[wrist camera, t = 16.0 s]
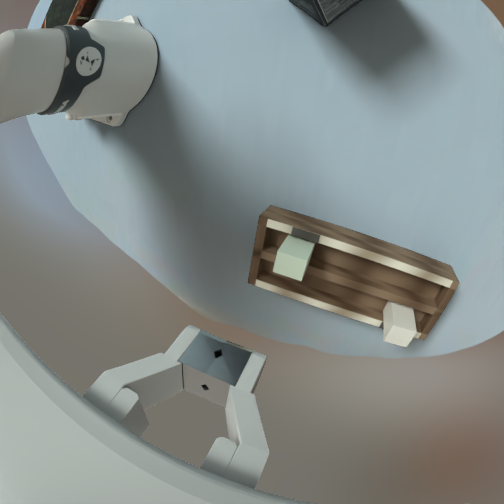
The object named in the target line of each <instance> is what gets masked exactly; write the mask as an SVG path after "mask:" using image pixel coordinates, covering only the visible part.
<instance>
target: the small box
mask: <svg viewBox="0 0 504 504" xmlns="http://www.w3.org/2000/svg"><path fill="white" fill-rule="evenodd" d="M289 1H290V2H292V3H293V4H295V5H296V6H297V7H299V8H300V9H302V10H303V11H304V12H306V13H307V14H309V15H310V16H311V17H313V18H314V19H315V20H316V21H318V22H319V23H320V24H321V25H323V26H328V25H329V24H330V23H331V22H333V21H334V20H335V19H337V18H338V17H339V16H341V15H342V14H343V13H345V12H346V11H348V10H349V9H350V8H352V7H353V6H355V5H356V4H357V3H359V2H360V1H362V0H289Z"/></svg>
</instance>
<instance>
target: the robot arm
mask: <svg viewBox="0 0 504 504" xmlns="http://www.w3.org/2000/svg"><path fill="white" fill-rule="evenodd" d="M157 58H158V54H157V46H156V43H155V40H154V38H153V36H152V35H151V34H150V33H149V32H148V31H147V30H146V29H144V28H143V27H141V26H140V23H139V21H138V19H137V17H136V16H132V15H129V16H126V17H124V18H123V19H121V20H119V21H114V20H104V19H92V20H90V21H89V22H87V23H85V24H84V25H83V26H82V27H81V26H74V25H64V26H56V27H54V28H39V29H17V30H9V31H6V32H4V33H2V34H0V124H1V123H4V122H6V121H9V120H12V119H15V118H19V117H22V116H26V115H30V114H35V113H37V114H40V115H46V114H47V115H51V114H56V113H58V112H66V119H67V120H81V119H86V118H90V119H93V120H96V121H99V122H102V123H105V124H108V125H110V126H120V125H121V124H122V123H123V121H124V120H125V118H126V116H127V114H128V112H129V111H130V110H131V109H132V108H133V107H134V106H135V105H137V104H138V103H139V102H140V101H141V99H142V98H143V97H144V96H145V94H146V93H147V91H148V89H149V87H150V85H151V83H152V81H153V78H154V75H155V72H156V67H157ZM266 359H267V356H266V355H263V354H260V353H258V352H255V351H253V350H251V349H248V348H245V347H243V346H240V345H237V344H234V343H232V342H229V341H225V340H223V339H221V338H219V337H216V336H214V335H212V334H210V333H208V332H205V331H203V330H201V329H199V328H196V327H194V326H192V325H188V326H187V327H186V328H185V329H184V330H183V332H182V333H181V334H180V335H179V336H178V338H177V339H176V340H175V342H174V343H173V344H172V345H171V347H170V348H169V349H168V350H167V352H166V353H165V354H163V353H159V354H156V355H153V356H150V357H147V358H144V359H141V360H138V361H135V362H132V363H129V364H126V365H123V366H120V367H117V368H113V369H110V370H107V371H104V372H103V374H102V375H101V376H100V377H99V378H98V379H97V380H96V381H95V383H94V384H93V385H92V386H91V387H90V388H89V389H88V390H87V391H86V393H85V394H84V395H83V396H81V395H80V394H79V393H78V392H77V391H75V390H74V389H73V388H72V387H71V386H69V385H68V384H67V383H66V382H65V381H64V380H63V379H62V378H60V377H59V376H58V375H57V374H56V373H55V372H54V371H53V370H52V369H51V368H50V367H49V366H48V365H47V364H46V363H44V361H43V360H42V359H41V358H39V356H38V355H37V354H36V353H35V352H34V351H33V350H32V349H31V348H30V347H29V346H28V345H27V344H26V343H25V342H24V340H23V339H22V338H21V337H20V336H19V335H18V334H17V333H16V331H15V330H14V329H13V328H12V326H11V325H10V324H9V323H8V322H7V320H6V319H5V318H4V317H3V315H2V314H1V313H0V504H316V503H310V502H304V501H300V500H295V499H291V498H287V497H283V496H279V495H275V494H271V493H267V492H264V491H261V490H257V489H255V486H256V484H257V482H258V479H259V477H260V475H261V473H262V470H263V467H264V465H265V463H266V460H267V458H268V455H269V450H268V446H267V442H266V438H265V434H264V430H263V426H262V422H261V418H260V414H259V409H258V405H257V401H256V397H255V395H254V394H253V392H254V390H255V388H256V386H257V383H258V380H259V378H260V375H261V373H262V370H263V367H264V365H265V362H266ZM183 390H186V391H188V392H190V393H192V394H194V395H197V396H199V397H201V398H203V399H206V400H208V401H210V402H212V403H214V404H216V405H219V406H221V407H223V408H225V412H226V420H227V427H228V435H229V439H226V438H224V437H220V438H217V439H216V441H215V443H214V444H213V446H212V448H211V450H210V451H209V453H208V455H207V457H206V458H205V460H204V462H203V464H202V465H201V467H200V468H199V467H196V466H194V465H192V464H190V463H188V462H186V461H184V460H181V459H179V458H177V457H175V456H173V455H172V454H170V453H168V452H166V451H164V450H162V449H160V448H158V447H157V446H155V445H153V444H151V443H150V442H148V441H146V440H145V439H143V438H141V436H142V435H143V433H144V432H145V431H146V429H147V427H148V426H149V422H148V419H147V417H146V414H145V412H144V410H145V409H147V408H149V407H151V406H154V405H156V404H158V403H160V402H162V401H164V400H166V399H168V398H170V397H172V396H174V395H176V394H178V393H180V392H182V391H183Z"/></svg>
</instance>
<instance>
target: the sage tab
mask: <svg viewBox="0 0 504 504" xmlns="http://www.w3.org/2000/svg"><path fill="white" fill-rule="evenodd" d="M315 243H316V242H313V241H309V240H306V239H303V238H300V237H297V236H294V235H291V234H288V236H287V237H286V239H285V240H284V242H283V243H282V245H281V246H280V248H279V249H278V251H277V255H276V260H275V264H274V268H273V272H275V273H278V274H281V275H284V276H287V277H290V278H293V279H296V280H299V281H302V279H303V276H304V274H305V271H306V269H307V266H308V264H309V261H310V259H311V256H312V253H313V250H314V246H315Z"/></svg>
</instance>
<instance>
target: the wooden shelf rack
mask: <svg viewBox="0 0 504 504" xmlns="http://www.w3.org/2000/svg"><path fill="white" fill-rule="evenodd" d="M288 234H291V235H294V236H297V237H300V238H303V239H306V240H309V241H313V242H316V243H315V246H314V250H313V253H312V256H311V259H310V261H309V264H308V266H307V269H306V271H305V274H304V276H303V279H302V281H299V280H296V279H293V278H290V277H287V276H284V275H281V274H278V273H275V272H273V268H274V264H275V260H276V255H277V251H278V249H279V248H280V246H281V245H282V243H283V242H284V240H285V239H286V237H287V236H288ZM248 283H250V284H253V285H255V286H258V287H261V288H263V289H266V290H269V291H272V292H275V293H278V294H281V295H283V296H286V297H289V298H292V299H295V300H298V301H301V302H304V303H307V304H310V305H313V306H316V307H319V308H322V309H325V310H328V311H331V312H334V313H337V314H340V315H343V316H346V317H349V318H352V319H355V320H359V321H362V322H365V323H368V324H371V325H374V326H378V327H379V328H382V329H384V321H383V309H384V308H385V306H386V304H387V302H388V300H389V301H392V302H395V303H398V304H401V305H404V306H407V307H411V308H413V311H414V317H415V324H416V331H417V333H416V334H415V336H414V338H417V339H421V340H424V339H425V338H426V336H427V335H428V334H429V332H430V331H431V329H432V328H433V326H434V325H435V323H436V322H437V320H438V318H439V317H440V315H441V314H442V312H443V311H444V309H445V307H446V306H447V304H448V302H449V301H450V299H451V297H452V295H453V294H454V292H455V290H456V288H457V287H458V285H459V281H458V279H457V277H456V275H455V273H454V271H453V269H452V267H451V266H450V265H447V264H445V263H442V262H440V261H437V260H435V259H432V258H429V257H427V256H424V255H421V254H419V253H416V252H413V251H411V250H408V249H405V248H402V247H400V246H397V245H394V244H391V243H388V242H386V241H383V240H380V239H377V238H374V237H371V236H368V235H365V234H362V233H359V232H356V231H353V230H350V229H347V228H344V227H341V226H338V225H335V224H331V223H328V222H325V221H322V220H319V219H315V218H312V217H309V216H306V215H302V214H299V213H296V212H292V211H289V210H285V209H282V208H278V207H275V206H269V207H268V208H267V209H266V210H265V211H264V212H263V213H262V214H261V215H260V216H259V221H258V227H257V232H256V238H255V244H254V250H253V255H252V261H251V267H250V273H249V278H248Z"/></svg>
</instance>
